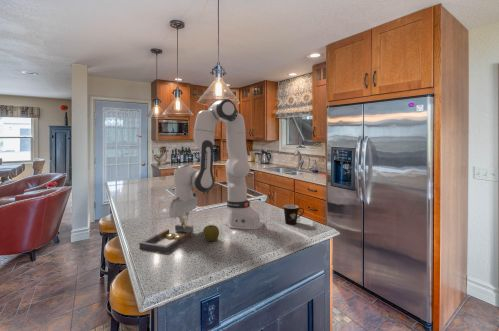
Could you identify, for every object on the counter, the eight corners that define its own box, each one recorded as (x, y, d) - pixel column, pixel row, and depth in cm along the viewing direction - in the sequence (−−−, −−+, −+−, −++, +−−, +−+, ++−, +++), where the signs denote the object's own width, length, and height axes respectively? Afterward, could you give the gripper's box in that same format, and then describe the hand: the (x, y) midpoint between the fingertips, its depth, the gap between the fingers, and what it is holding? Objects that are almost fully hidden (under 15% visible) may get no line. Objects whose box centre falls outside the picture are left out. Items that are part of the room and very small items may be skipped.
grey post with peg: (193, 231, 140) (192, 215, 139) (191, 233, 138) (190, 216, 137) (177, 229, 143) (177, 213, 142) (175, 230, 141) (174, 214, 140)
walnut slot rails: (191, 237, 134) (191, 232, 133) (180, 244, 125) (180, 238, 125) (167, 233, 139) (166, 229, 138) (155, 239, 130) (155, 234, 130)
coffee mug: (282, 225, 152) (282, 208, 150) (284, 220, 160) (284, 204, 159) (303, 226, 149) (303, 209, 148) (303, 221, 157) (304, 205, 156)
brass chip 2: (185, 237, 133) (184, 234, 133) (180, 241, 129) (179, 238, 129) (177, 236, 135) (177, 233, 135) (172, 240, 131) (172, 236, 131)
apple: (211, 236, 135) (211, 222, 134) (222, 240, 130) (222, 226, 129) (200, 240, 129) (199, 226, 128) (211, 244, 124) (210, 230, 123)
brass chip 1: (177, 236, 135) (177, 233, 135) (171, 239, 131) (171, 236, 131) (169, 235, 137) (169, 232, 136) (164, 238, 132) (164, 235, 132)
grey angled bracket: (180, 244, 125) (180, 239, 124) (166, 253, 115) (166, 247, 115) (154, 240, 130) (154, 235, 130) (139, 248, 121) (139, 242, 120)
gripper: (176, 200, 128) (177, 228, 129) (198, 192, 147) (199, 216, 148) (165, 199, 130) (166, 226, 131) (188, 191, 149) (189, 215, 150)
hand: (184, 221), depth 140 cm, fingers closed on grey post with peg, 2 cm apart
